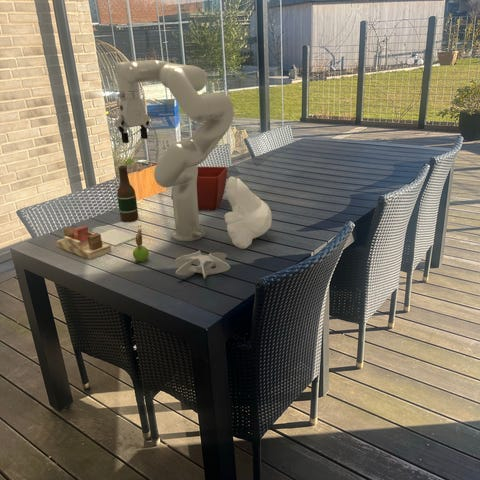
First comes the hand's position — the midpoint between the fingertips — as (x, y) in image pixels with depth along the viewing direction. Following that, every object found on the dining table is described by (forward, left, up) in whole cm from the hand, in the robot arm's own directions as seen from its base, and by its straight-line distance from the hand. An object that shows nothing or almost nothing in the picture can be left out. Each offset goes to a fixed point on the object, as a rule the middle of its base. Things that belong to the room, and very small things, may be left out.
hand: (135, 140), depth 190 cm
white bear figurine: (-46, -10, -36) cm, 59 cm away
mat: (0, +16, -36) cm, 40 cm away
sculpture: (-52, +19, -36) cm, 66 cm away
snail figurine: (-27, +24, -36) cm, 51 cm away
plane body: (0, +30, -36) cm, 47 cm away
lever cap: (0, +30, -34) cm, 45 cm away
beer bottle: (+13, -2, -36) cm, 39 cm away
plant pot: (-3, -34, -36) cm, 49 cm away
